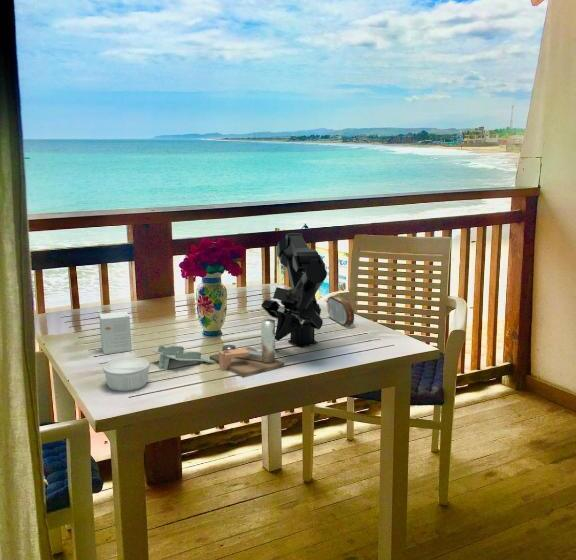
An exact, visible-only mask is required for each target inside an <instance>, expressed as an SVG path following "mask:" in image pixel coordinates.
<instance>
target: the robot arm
mask: <svg viewBox="0 0 576 560" xmlns="http://www.w3.org/2000/svg"><path fill="white" fill-rule="evenodd" d="M276 257H277V258H278V259H279V262H280V264H281V265H282V266H283V267H285V268H286V270H287V275H288V279H289V283H290V287H291V288H290V289H286V288H281V287H279V286H277V287H276V288H275V290H274V294H273V296H272V299H273V300H272V299H269V298H268V299H264V300H263V302H262V303H261V306H260V307H261V308H262V309H263V310H264V311H265V312H266V313H267V314H268V315H269V316H270V317H272V318H274V319H277V321H276V323H277V324H276V327H275V328H276V329H275V341H280V340H282V339H284V338H285V337H287V336H288V335H290V339H288V343H290V344H293V345H295V346H297V347H299V348H303V347H308V346H312V345H316V344H319V342H318V341H317V340H315V329H316V330H318V331H319V330H320V329H321V328H322V326H323V323H324V322H323V318H322V317H321V311H322V308H321V306H320V303H318V302H317V301H318V300H317V299H316V294H317V292H318V290H319V289H320V287H321V286H322V285H323V283H324V281H325V279H326V278H327V275H328V272H327V269H326V264H325V261H324V260H323V259H322V257H321V254H320V253H319V252H318V251H317V250H316V249H315V248H309V245H308V244H307V243H306V241H305V240H304V234H303V233H299V232H298V233H297V232H295V233H294V232H293V233H292V232H291V233H290V232H289V233H286V235H285V237H284V238H282V239H280V240H279V241H278V242H277V246H276ZM277 300H278V301H280V303H279V302H278V301H277ZM280 304H281V305H282V306H281V305H280Z"/></svg>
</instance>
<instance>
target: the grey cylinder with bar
mask: <svg viewBox="0 0 576 560" xmlns="http://www.w3.org/2000/svg"><path fill="white" fill-rule="evenodd" d="M260 323H261V325H260V327H261V328H260V329H261V332H260V333H261V335H260V336H261V338H260V339H261V346H260V347H261V351H259V352H257V351H258V350H257V351H250V350H247V351H248V352H249V356H244V357H238V358H245V359H251V360H257V361H262V362H265V363H271V362H274V361H275V359H276V339H275V334H276V329H275V328H276V321H275V319H272V318H270V319H269V318H267V319H261V322H260ZM221 349H222V350H221V351H224V350H233V349H238V348H236V345H234V344H225V345H223V346H222V347H221Z"/></svg>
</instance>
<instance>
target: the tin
mask: <svg viewBox="0 0 576 560" xmlns="http://www.w3.org/2000/svg"><path fill="white" fill-rule="evenodd" d="M327 313H328V316H329V317H330V319H331V320H333V321H334V322H335V323H337V324H339V325H341V326H343V327H346V326H352V325H353V324H354V321H355V312H354V307H353V305H352V303H351V302H350V301H349V300H348V299H346V298H344V297H342V296H340V295H338V294H336V295H331V296H329V297H328V298H327Z"/></svg>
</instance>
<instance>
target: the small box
mask: <svg viewBox="0 0 576 560" xmlns="http://www.w3.org/2000/svg"><path fill="white" fill-rule="evenodd" d="M98 317H99V331H100V343H101V344H100V346H101V350H102V354H103V355H107V354H108V355H109V354H116V353H117V354H118V353H124V352H132V336H131V335H132V334H131V321H130V320H131V318H130V315H129V313H128V311H118V312H110V313H109V312H107V313H99V315H98Z"/></svg>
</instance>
